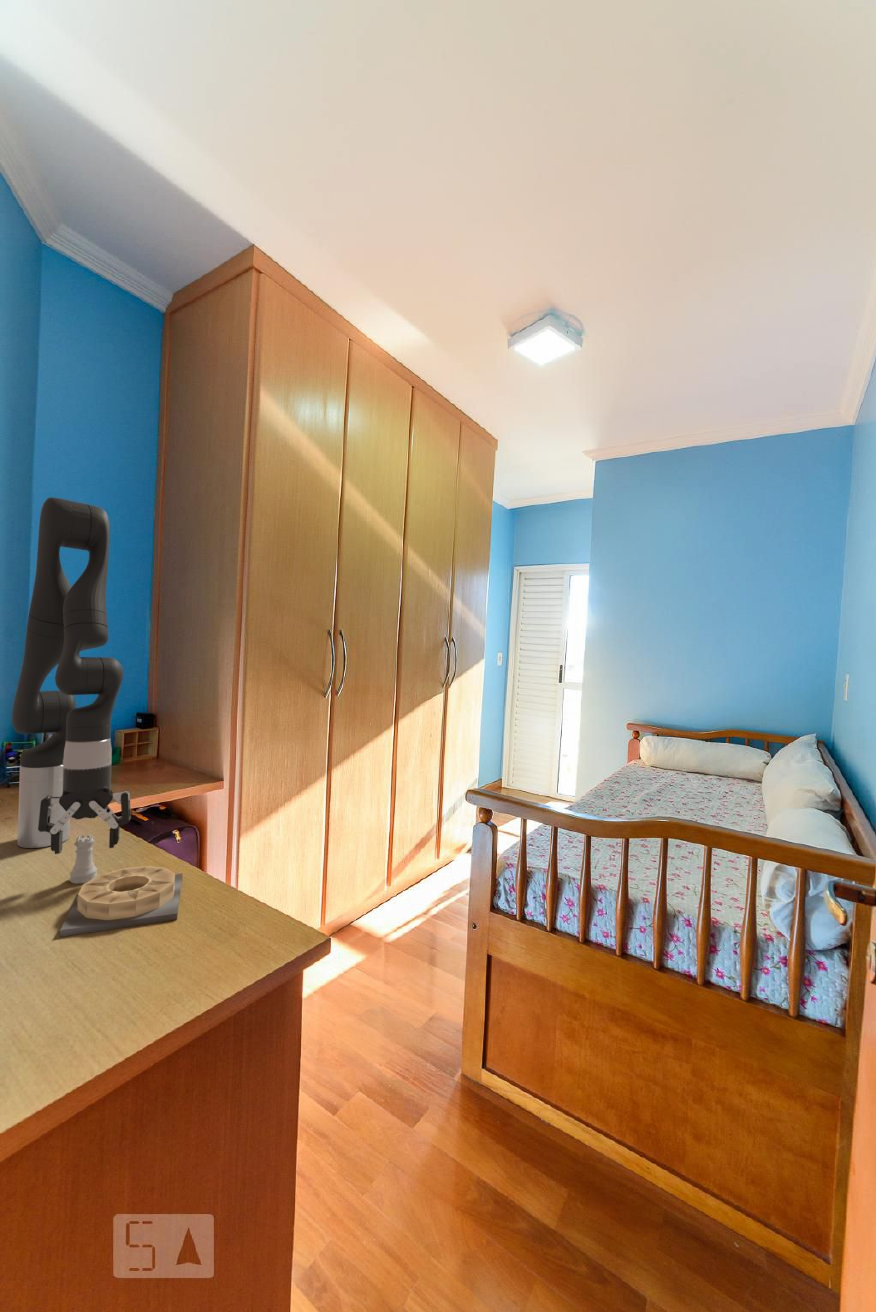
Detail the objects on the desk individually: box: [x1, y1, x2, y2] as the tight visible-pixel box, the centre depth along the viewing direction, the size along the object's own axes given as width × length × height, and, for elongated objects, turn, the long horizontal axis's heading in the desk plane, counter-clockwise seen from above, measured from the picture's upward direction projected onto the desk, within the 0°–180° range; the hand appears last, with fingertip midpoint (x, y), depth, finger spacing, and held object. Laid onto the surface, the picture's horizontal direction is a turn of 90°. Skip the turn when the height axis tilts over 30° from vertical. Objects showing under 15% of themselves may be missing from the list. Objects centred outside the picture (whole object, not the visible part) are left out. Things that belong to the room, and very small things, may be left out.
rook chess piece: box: [69, 834, 99, 885], centre depth 98 cm, size 4×4×8 cm
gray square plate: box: [59, 865, 183, 938], centre depth 90 cm, size 16×16×4 cm
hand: (85, 849), depth 98 cm, fingers open, 8 cm apart
